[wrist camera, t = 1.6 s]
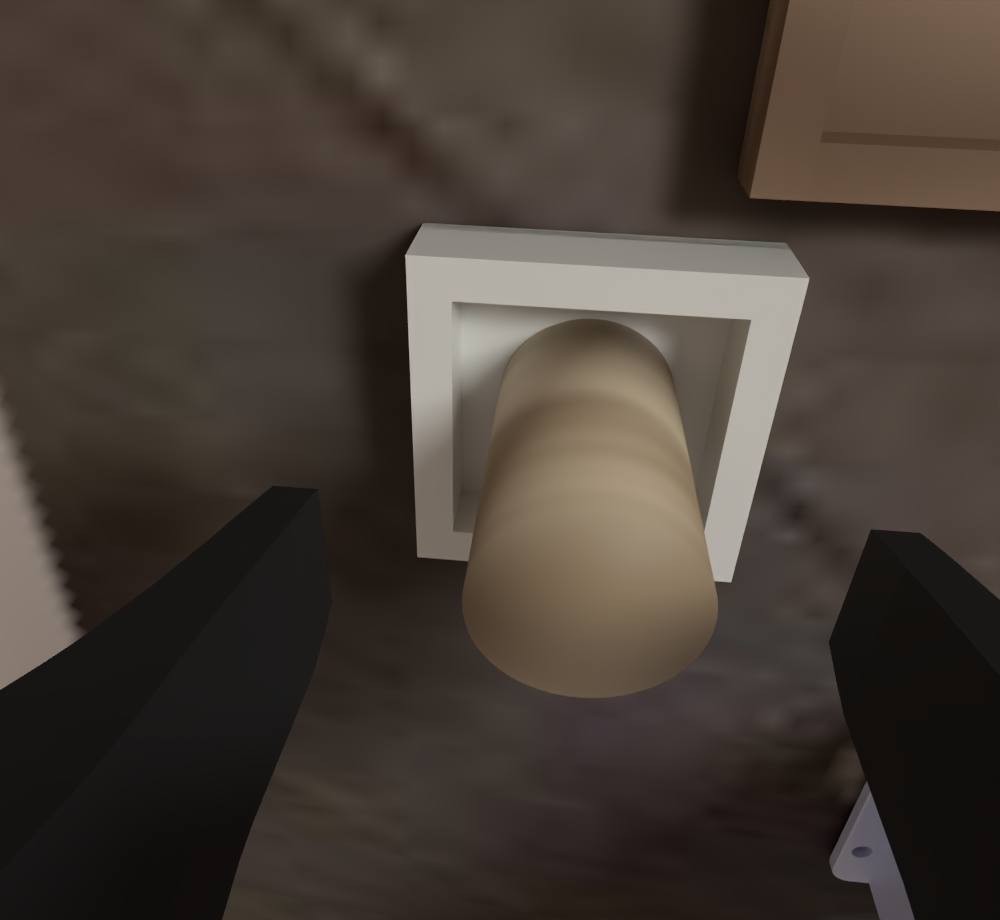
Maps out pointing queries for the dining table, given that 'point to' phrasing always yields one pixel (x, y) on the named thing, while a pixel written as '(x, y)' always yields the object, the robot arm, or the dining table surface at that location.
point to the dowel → (589, 520)
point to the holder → (607, 296)
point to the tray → (877, 104)
